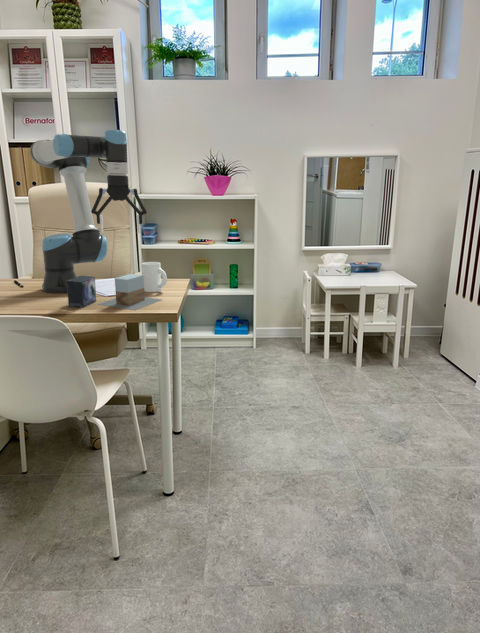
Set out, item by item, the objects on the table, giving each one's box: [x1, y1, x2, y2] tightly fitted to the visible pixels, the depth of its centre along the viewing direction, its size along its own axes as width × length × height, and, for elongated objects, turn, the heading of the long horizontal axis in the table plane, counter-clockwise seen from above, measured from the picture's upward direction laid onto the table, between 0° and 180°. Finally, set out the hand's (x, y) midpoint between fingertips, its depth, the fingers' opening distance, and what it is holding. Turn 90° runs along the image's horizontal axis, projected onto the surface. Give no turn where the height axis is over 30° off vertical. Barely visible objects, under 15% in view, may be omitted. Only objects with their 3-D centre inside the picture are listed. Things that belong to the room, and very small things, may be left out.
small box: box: [67, 275, 97, 309], centre depth 182 cm, size 11×6×10 cm, turn 168°
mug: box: [141, 261, 168, 293], centre depth 205 cm, size 8×12×12 cm
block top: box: [114, 273, 144, 293], centre depth 185 cm, size 6×10×5 cm, turn 155°
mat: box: [97, 296, 164, 311], centre depth 187 cm, size 18×18×1 cm
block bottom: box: [115, 288, 146, 306], centre depth 186 cm, size 6×10×5 cm, turn 155°
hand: (120, 232), depth 183 cm, fingers open, 13 cm apart
